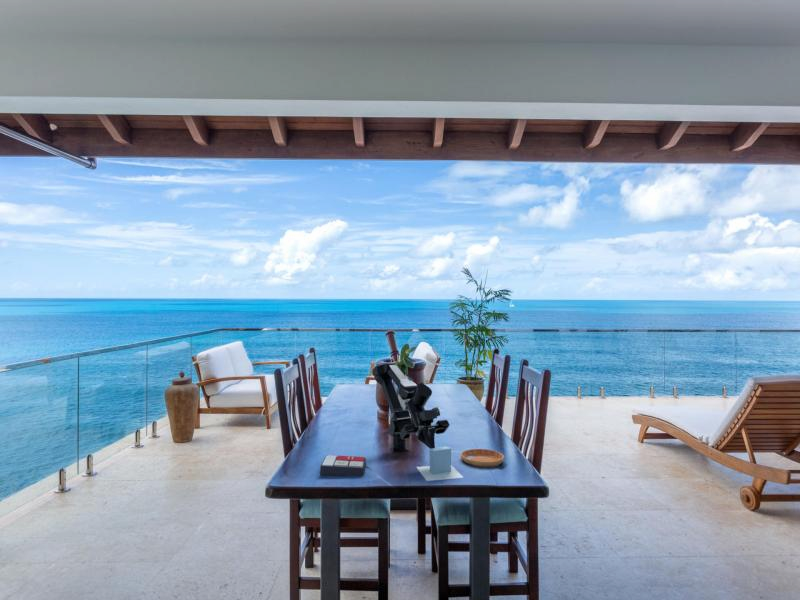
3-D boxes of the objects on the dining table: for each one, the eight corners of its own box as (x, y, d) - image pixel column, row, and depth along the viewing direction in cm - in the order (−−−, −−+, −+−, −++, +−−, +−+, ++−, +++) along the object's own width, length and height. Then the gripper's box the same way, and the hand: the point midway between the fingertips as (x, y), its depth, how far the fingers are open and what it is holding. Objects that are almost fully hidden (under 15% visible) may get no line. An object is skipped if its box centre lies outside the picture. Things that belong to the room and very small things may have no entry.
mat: (416, 468, 163) (416, 467, 163) (450, 465, 166) (450, 464, 166) (426, 482, 150) (426, 480, 150) (463, 479, 153) (463, 477, 153)
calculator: (363, 466, 157) (320, 463, 157) (363, 478, 157) (319, 476, 157) (366, 455, 168) (325, 453, 168) (365, 467, 167) (325, 465, 168)
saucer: (466, 454, 181) (466, 446, 181) (506, 458, 175) (506, 450, 175) (456, 467, 166) (456, 458, 166) (500, 472, 160) (500, 464, 160)
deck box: (429, 472, 158) (429, 448, 159) (446, 468, 162) (446, 446, 162) (434, 474, 156) (434, 451, 156) (451, 471, 159) (451, 448, 159)
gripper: (403, 402, 164) (418, 441, 154) (446, 398, 172) (464, 434, 162) (393, 420, 170) (407, 458, 160) (435, 414, 179) (451, 450, 169)
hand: (433, 449), depth 163 cm, fingers closed
